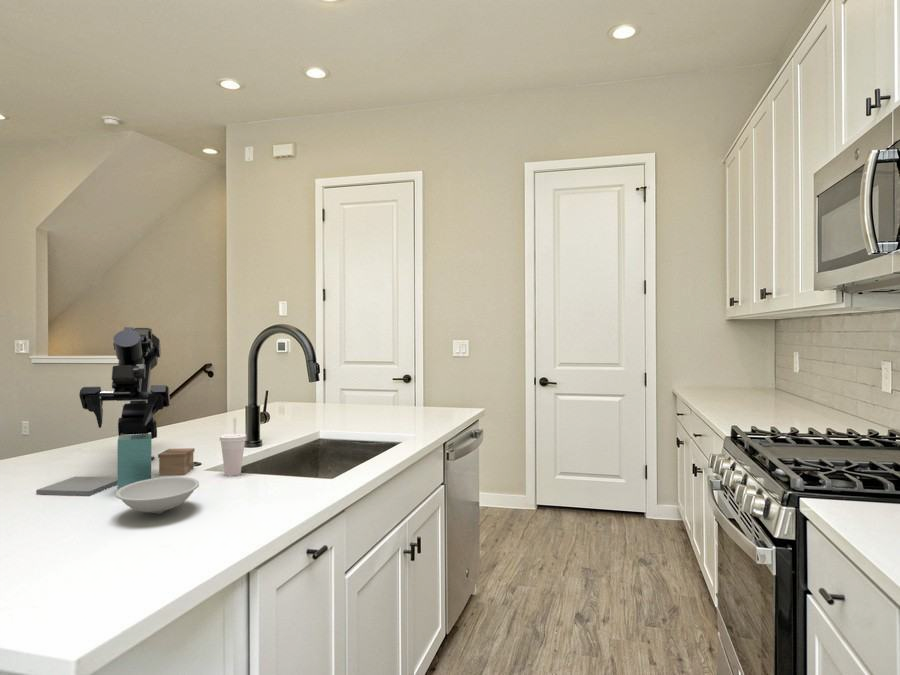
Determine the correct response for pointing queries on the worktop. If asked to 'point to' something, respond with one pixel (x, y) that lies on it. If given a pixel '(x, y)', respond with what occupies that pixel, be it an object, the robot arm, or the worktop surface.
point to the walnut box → (176, 461)
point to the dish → (157, 493)
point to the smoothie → (233, 451)
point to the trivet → (79, 486)
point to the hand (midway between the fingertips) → (122, 425)
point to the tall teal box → (133, 459)
